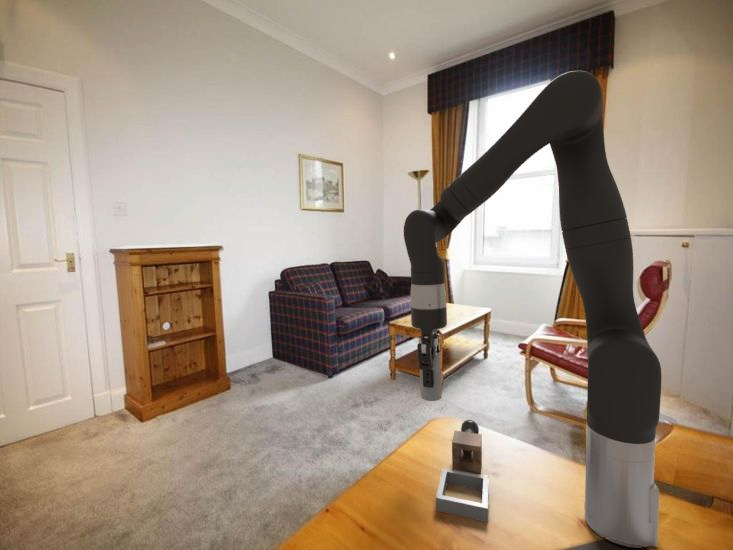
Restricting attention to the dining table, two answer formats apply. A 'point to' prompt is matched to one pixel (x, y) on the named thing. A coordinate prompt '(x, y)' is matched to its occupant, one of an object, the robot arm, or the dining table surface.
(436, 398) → the grey cylinder
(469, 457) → the guide block
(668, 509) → the dining table surface
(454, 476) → the grey open frame
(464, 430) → the shaft
